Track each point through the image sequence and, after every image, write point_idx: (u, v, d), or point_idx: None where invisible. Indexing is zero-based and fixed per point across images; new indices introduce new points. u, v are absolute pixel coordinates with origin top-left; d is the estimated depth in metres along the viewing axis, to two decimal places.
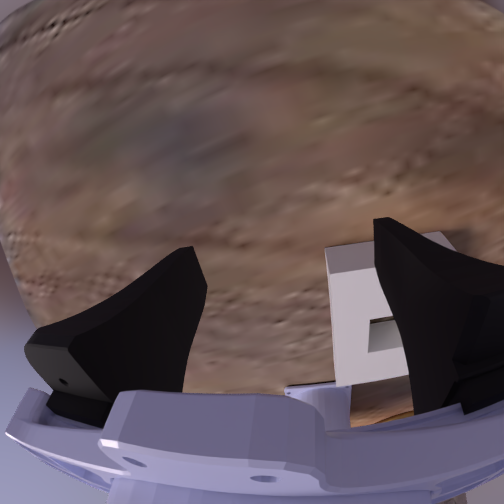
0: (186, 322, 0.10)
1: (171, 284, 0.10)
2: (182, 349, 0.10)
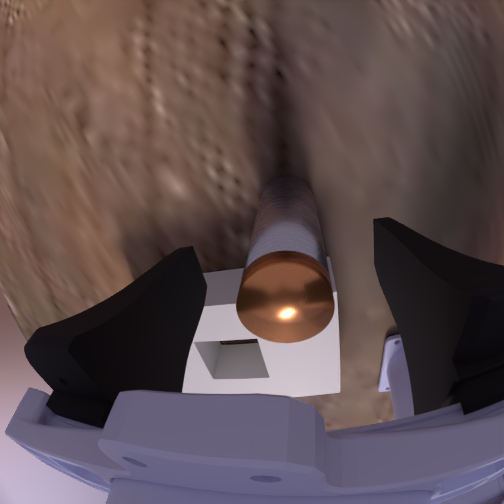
0: (186, 322, 0.10)
1: (171, 284, 0.10)
2: (182, 349, 0.10)
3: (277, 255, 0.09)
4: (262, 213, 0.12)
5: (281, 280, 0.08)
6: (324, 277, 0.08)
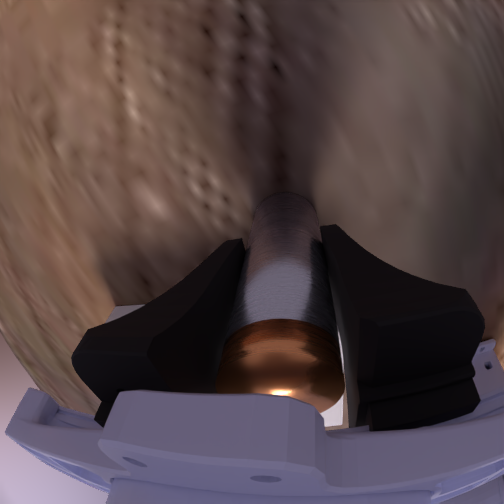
0: None
1: (228, 277, 0.09)
2: None
3: (270, 327, 0.06)
4: (253, 248, 0.10)
5: (274, 364, 0.06)
6: (333, 356, 0.06)
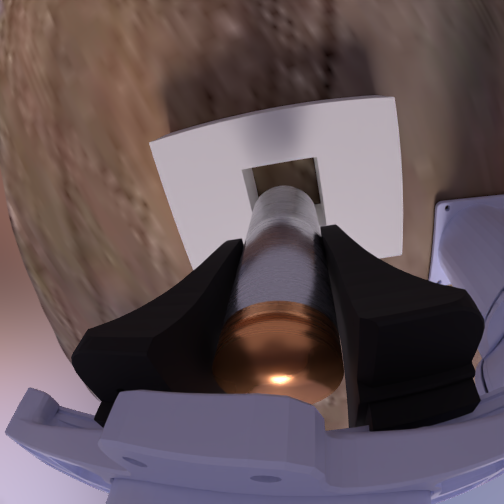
0: None
1: (228, 277, 0.09)
2: None
3: (275, 308, 0.06)
4: (256, 234, 0.10)
5: (278, 346, 0.06)
6: (335, 342, 0.06)
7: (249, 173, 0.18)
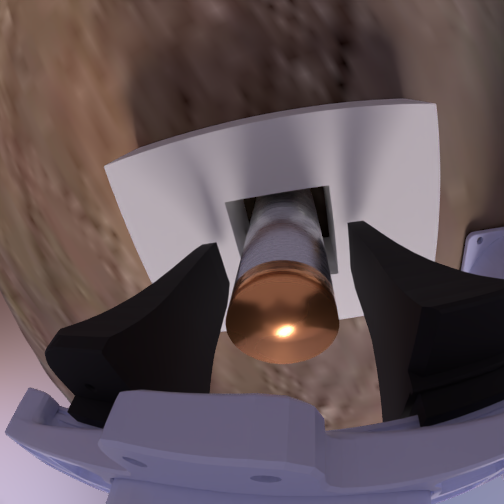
0: (212, 320, 0.10)
1: (198, 281, 0.09)
2: (209, 349, 0.10)
3: (279, 265, 0.08)
4: (260, 214, 0.11)
5: (282, 295, 0.07)
6: (331, 295, 0.07)
7: (237, 202, 0.14)
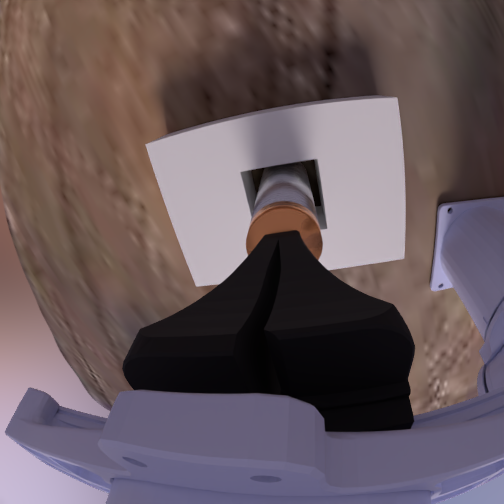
0: None
1: (275, 271, 0.09)
2: None
3: (281, 203, 0.11)
4: (267, 180, 0.15)
5: (284, 220, 0.11)
6: (316, 223, 0.11)
7: (248, 175, 0.18)
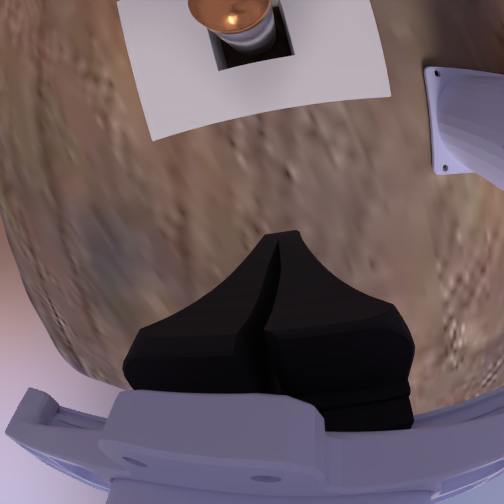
0: None
1: (275, 271, 0.09)
2: None
3: None
4: None
5: None
6: None
7: None
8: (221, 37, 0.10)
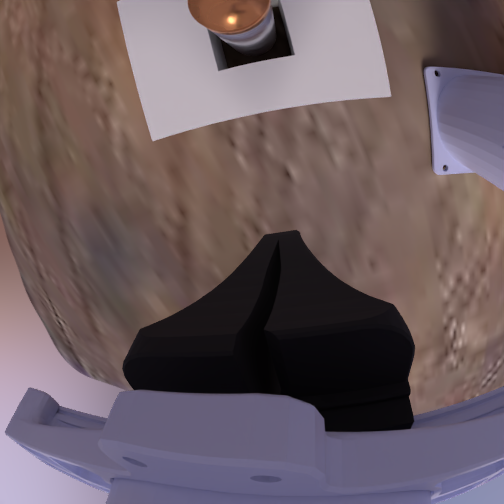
0: None
1: (275, 271, 0.09)
2: None
3: None
4: None
5: None
6: None
7: None
8: (221, 37, 0.10)
